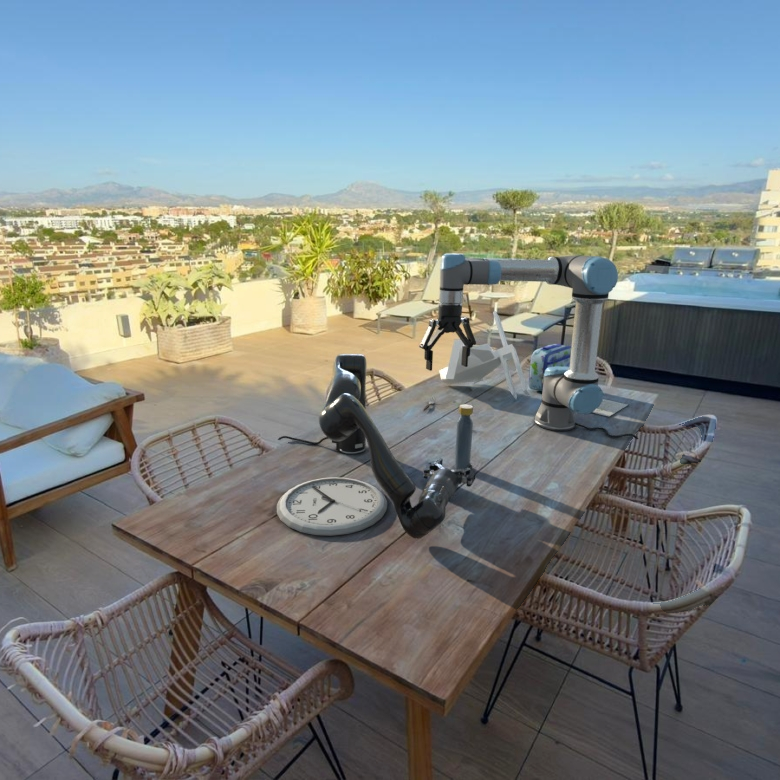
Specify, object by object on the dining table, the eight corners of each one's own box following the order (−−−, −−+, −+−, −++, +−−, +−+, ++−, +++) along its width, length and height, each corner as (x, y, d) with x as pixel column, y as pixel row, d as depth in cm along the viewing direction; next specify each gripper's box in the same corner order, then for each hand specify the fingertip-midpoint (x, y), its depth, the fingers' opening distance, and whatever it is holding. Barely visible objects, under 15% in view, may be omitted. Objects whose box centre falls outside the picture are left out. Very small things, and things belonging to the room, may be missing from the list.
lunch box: (545, 396, 239) (550, 351, 232) (524, 391, 246) (528, 347, 240) (572, 385, 256) (577, 343, 250) (552, 380, 263) (557, 339, 257)
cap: (474, 415, 159) (474, 408, 159) (461, 415, 158) (462, 408, 158) (469, 410, 163) (470, 403, 162) (457, 411, 162) (457, 404, 162)
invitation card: (608, 416, 214) (573, 407, 224) (608, 416, 214) (573, 408, 224) (628, 404, 229) (594, 396, 238) (628, 405, 229) (594, 397, 238)
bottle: (471, 470, 165) (476, 409, 158) (457, 472, 164) (461, 410, 157) (466, 464, 169) (470, 404, 163) (452, 465, 168) (456, 405, 162)
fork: (420, 411, 216) (420, 406, 216) (430, 400, 230) (431, 395, 230) (426, 412, 215) (426, 407, 215) (436, 401, 230) (436, 396, 229)
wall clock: (392, 527, 129) (268, 531, 127) (391, 533, 130) (269, 537, 127) (383, 473, 158) (282, 475, 155) (383, 478, 158) (282, 480, 156)
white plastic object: (461, 429, 252) (437, 405, 227) (444, 352, 274) (420, 323, 250) (535, 404, 240) (518, 377, 215) (510, 326, 262) (492, 293, 237)
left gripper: (468, 479, 137) (480, 455, 151) (416, 470, 141) (432, 448, 156) (466, 505, 139) (478, 479, 153) (415, 495, 144) (431, 471, 158)
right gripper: (476, 300, 175) (472, 361, 182) (410, 303, 165) (408, 368, 171) (489, 303, 169) (484, 367, 175) (421, 306, 159) (419, 374, 165)
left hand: (455, 463), depth 155 cm, fingers open, 8 cm apart
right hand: (446, 367), depth 173 cm, fingers open, 13 cm apart
